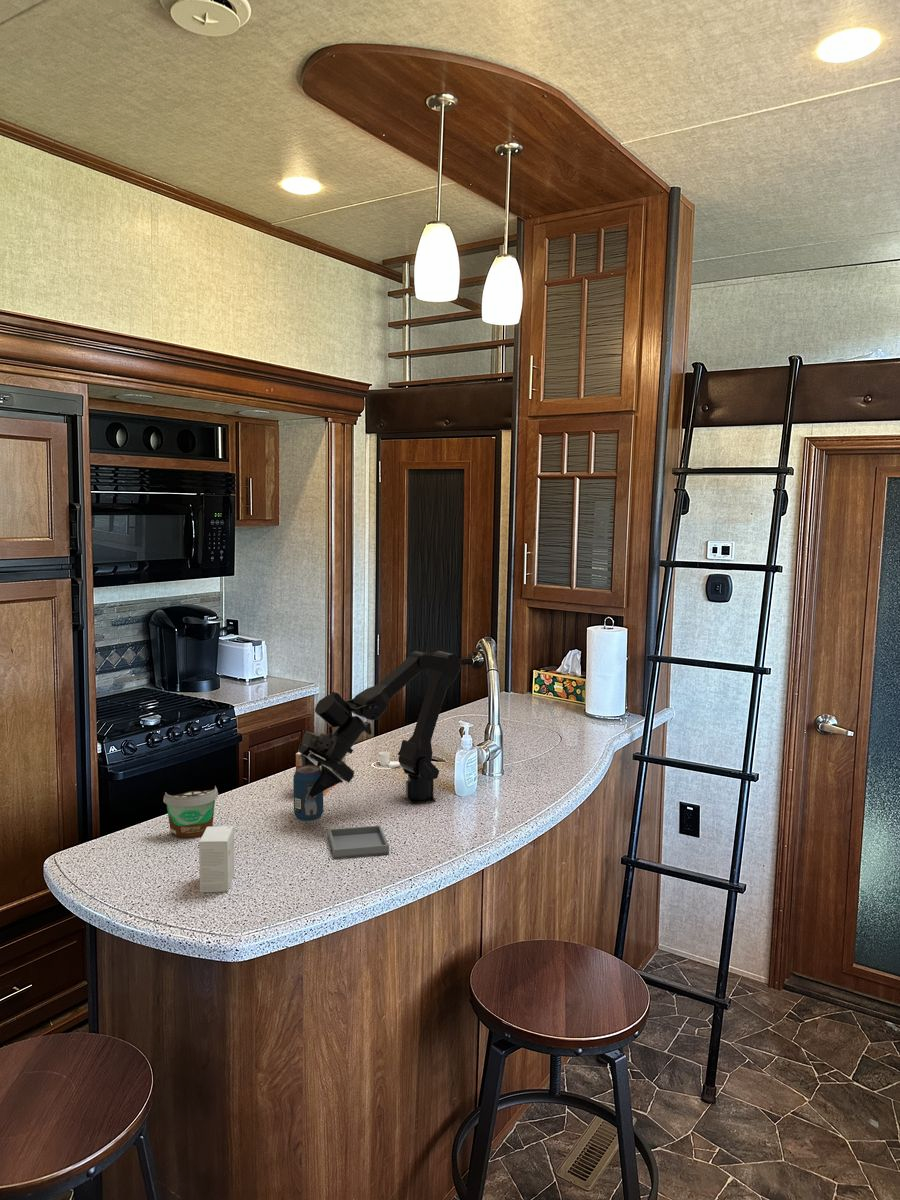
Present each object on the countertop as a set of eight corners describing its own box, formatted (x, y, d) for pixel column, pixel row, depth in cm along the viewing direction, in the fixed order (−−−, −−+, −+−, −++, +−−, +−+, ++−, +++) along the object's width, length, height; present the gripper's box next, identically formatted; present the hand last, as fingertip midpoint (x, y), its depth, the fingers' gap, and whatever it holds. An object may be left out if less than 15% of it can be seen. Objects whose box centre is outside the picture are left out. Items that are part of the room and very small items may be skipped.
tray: (380, 833, 194) (380, 825, 194) (389, 854, 182) (389, 845, 182) (328, 837, 191) (328, 829, 191) (334, 858, 180) (334, 850, 179)
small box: (207, 875, 171) (206, 825, 170) (235, 874, 171) (234, 825, 170) (199, 893, 163) (198, 841, 162) (228, 892, 163) (227, 840, 162)
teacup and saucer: (404, 768, 245) (404, 755, 244) (380, 773, 240) (380, 759, 240) (389, 760, 252) (389, 747, 251) (366, 765, 247) (366, 751, 247)
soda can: (310, 809, 203) (309, 762, 201) (329, 816, 198) (329, 767, 197) (287, 818, 197) (287, 768, 196) (307, 825, 193) (306, 775, 192)
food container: (168, 844, 186) (167, 801, 185) (163, 834, 192) (162, 792, 190) (224, 835, 192) (223, 793, 191) (218, 826, 197) (217, 785, 196)
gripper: (304, 710, 205) (263, 762, 200) (341, 727, 190) (298, 783, 185) (332, 736, 210) (293, 787, 205) (371, 754, 196) (330, 810, 190)
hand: (303, 791), depth 196 cm, fingers closed on soda can, 7 cm apart
